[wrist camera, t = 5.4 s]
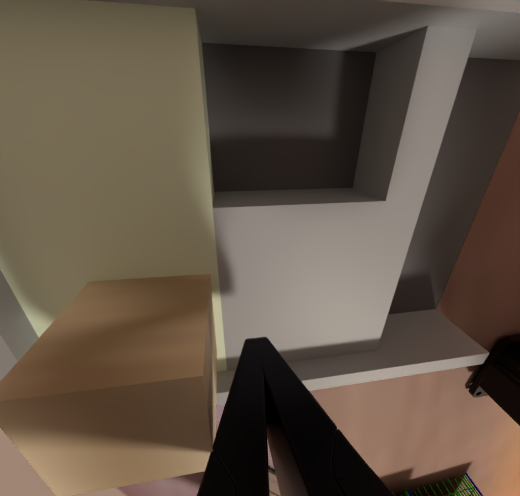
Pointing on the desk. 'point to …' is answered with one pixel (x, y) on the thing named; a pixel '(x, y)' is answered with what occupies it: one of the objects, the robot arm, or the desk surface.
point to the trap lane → (256, 167)
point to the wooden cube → (118, 386)
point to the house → (454, 489)
